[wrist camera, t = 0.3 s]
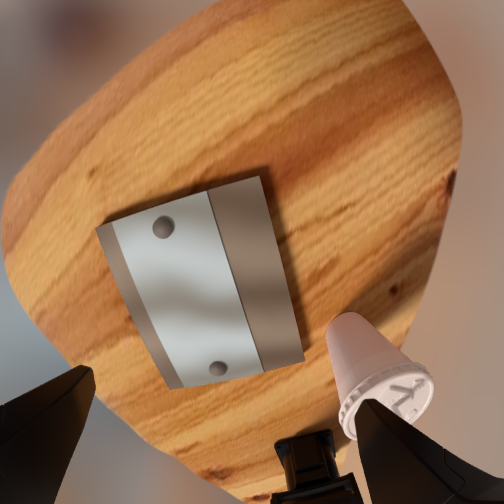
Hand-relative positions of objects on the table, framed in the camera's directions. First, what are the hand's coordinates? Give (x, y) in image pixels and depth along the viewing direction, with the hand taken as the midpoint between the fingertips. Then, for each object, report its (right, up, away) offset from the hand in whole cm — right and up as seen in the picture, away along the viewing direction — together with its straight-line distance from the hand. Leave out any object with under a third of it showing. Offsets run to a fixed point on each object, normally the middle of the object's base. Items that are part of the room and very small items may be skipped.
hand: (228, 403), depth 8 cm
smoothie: (+9, -2, +16) cm, 18 cm away
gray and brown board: (-3, +1, +14) cm, 14 cm away
